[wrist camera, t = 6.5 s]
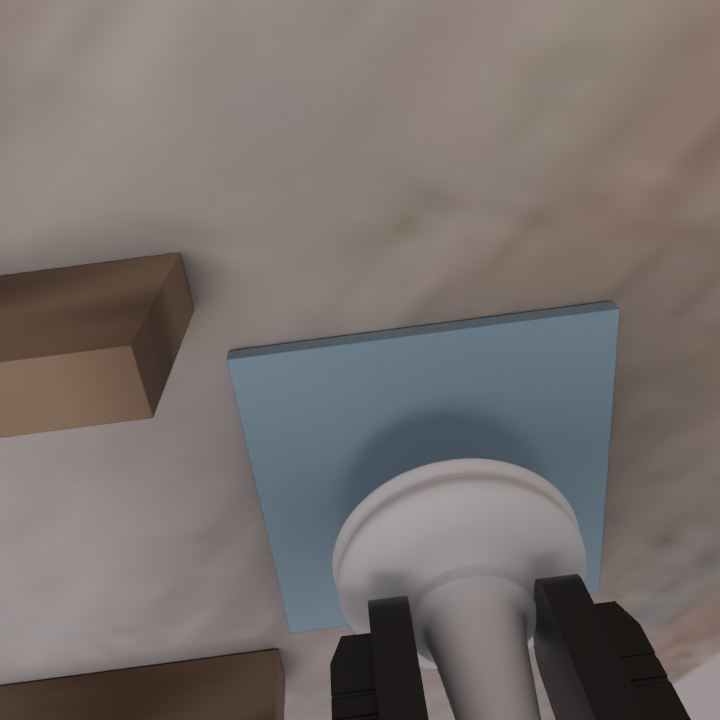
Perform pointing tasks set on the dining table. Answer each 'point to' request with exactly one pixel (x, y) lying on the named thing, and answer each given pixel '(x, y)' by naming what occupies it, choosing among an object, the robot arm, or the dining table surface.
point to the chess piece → (462, 572)
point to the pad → (421, 425)
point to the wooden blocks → (103, 406)
